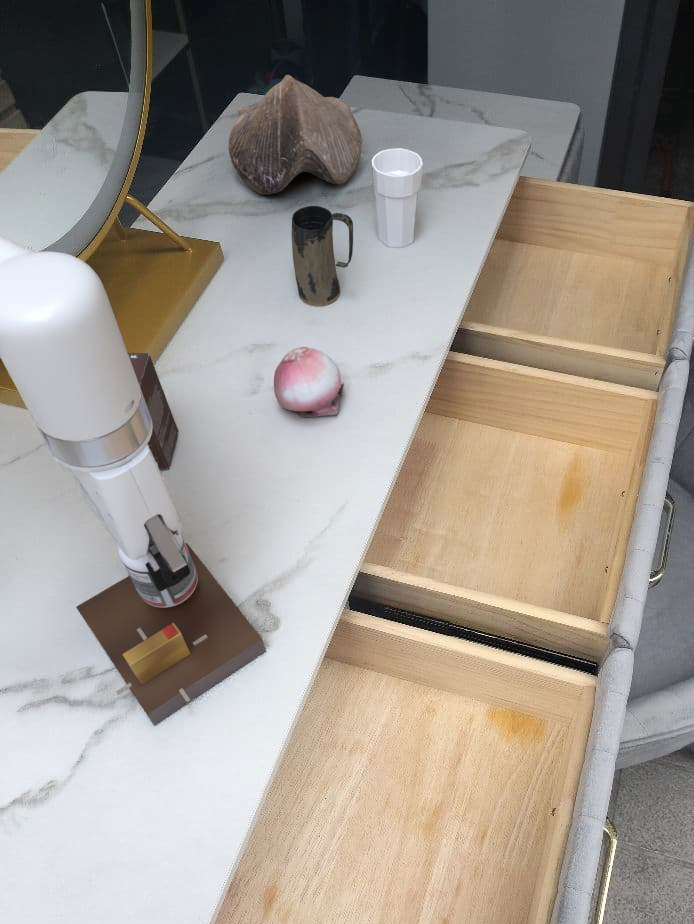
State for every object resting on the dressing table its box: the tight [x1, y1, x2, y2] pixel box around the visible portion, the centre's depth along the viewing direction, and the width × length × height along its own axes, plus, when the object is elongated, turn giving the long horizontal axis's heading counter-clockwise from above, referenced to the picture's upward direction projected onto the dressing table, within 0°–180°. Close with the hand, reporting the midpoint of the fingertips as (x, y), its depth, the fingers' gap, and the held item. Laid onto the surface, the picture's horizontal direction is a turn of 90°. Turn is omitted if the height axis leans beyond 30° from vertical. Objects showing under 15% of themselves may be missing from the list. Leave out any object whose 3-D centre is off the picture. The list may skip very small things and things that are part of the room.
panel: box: [75, 542, 267, 727], centre depth 77 cm, size 15×13×3 cm
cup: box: [371, 147, 424, 249], centre depth 110 cm, size 7×7×11 cm
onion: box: [273, 346, 345, 418], centre depth 93 cm, size 8×8×7 cm
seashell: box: [228, 74, 363, 195], centre depth 119 cm, size 16×17×15 cm
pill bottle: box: [116, 531, 198, 608], centre depth 74 cm, size 6×6×10 cm
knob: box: [123, 623, 191, 685], centre depth 72 cm, size 5×1×4 cm, turn 128°
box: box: [128, 352, 179, 470], centre depth 87 cm, size 6×4×12 cm
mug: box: [291, 205, 354, 307], centre depth 102 cm, size 8×6×12 cm
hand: (155, 556), depth 74 cm, fingers closed on pill bottle, 5 cm apart
